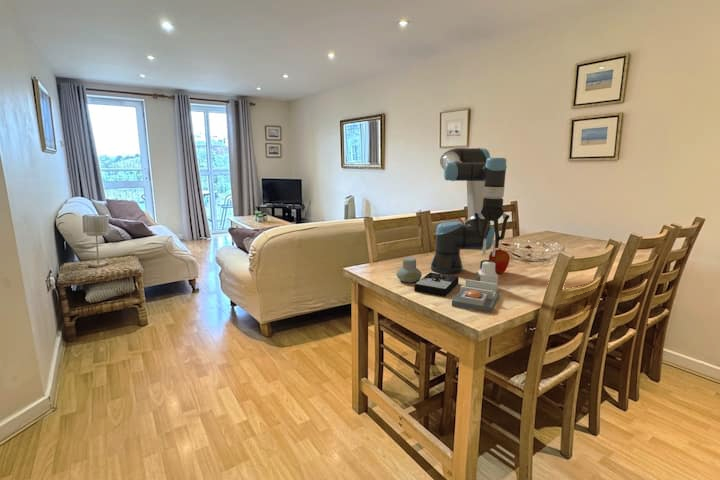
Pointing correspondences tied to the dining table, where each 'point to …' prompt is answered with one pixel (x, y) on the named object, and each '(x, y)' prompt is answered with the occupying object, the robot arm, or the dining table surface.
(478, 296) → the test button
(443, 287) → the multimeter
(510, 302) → the dining table surface
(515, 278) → the dining table surface
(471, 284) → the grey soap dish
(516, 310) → the dining table surface
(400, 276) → the air freshener
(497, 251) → the apple
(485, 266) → the medicine bottle
